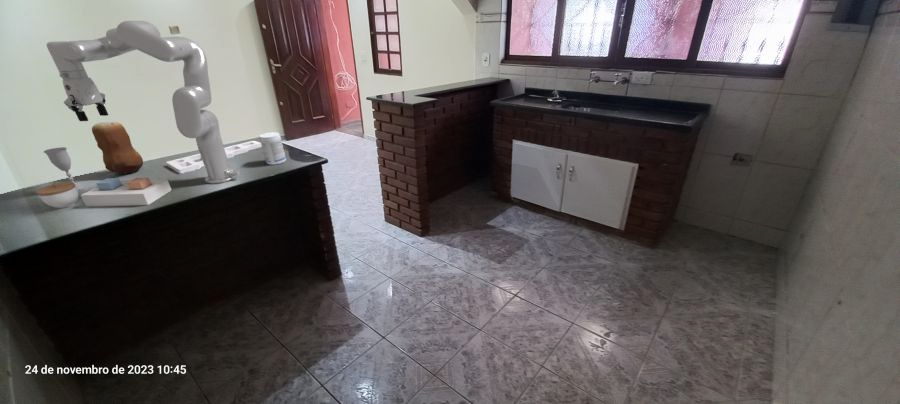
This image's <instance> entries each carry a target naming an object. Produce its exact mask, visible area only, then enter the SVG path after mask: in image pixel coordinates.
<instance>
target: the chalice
mask: <svg viewBox="0 0 900 404" xmlns="http://www.w3.org/2000/svg"><path fill="white" fill-rule="evenodd" d="M43 153H44V154H45V155H46V156H47V157H48V159H49V161H50V163H51V164H52V165H53V166H55V167H56V168H58V169H59V170H60V171H61V172H65V175H66V176H67V177H68V180H69V181H70V182H73V183H74V184H75V185H76V188H77V190H78V191H79V189H80V190H82V188H83V189H84V188H85V186H83V185H82V184H81V183H80V182H75V180H74V177H72V174H71V173H70V172H69V170H71V167H72V162H71V161H72V160H71V157H70V154H69V153H68V151H67V147H65V146H64V147H61V146H60V147H53V148H47V149H46V150H44V151H43Z"/></svg>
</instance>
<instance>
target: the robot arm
mask: <svg viewBox="0 0 900 404" xmlns="http://www.w3.org/2000/svg"><path fill="white" fill-rule="evenodd" d="M46 49H47V50H48V52H49V54H50V56H51V58H52V60H53V63H54V65H55V66H56V69H57V70H58V73H59V77H60V78H61V79H62V85H63V88H64V91H65V94H66V96H67V98H66V99H65V100H64V101H63V104H64V105H65V106H66V107H68V109H70V110H71V112H74V113H75V115H76V117H77V119H78V121H79V122H89V119H88V116H87V114H86V112H85V111H84V110H83V108H84V106H91V105H96V106H95V108H96V110H97V113H99V116H102V117H103V116H104V117H105V116H109V113H108V111H107V108H106V94H105V93H103V92H100V90H99V88H98V86H97V85H96V83H95V82H94V80H92V79H93V78H91V77H89V75H88V73H87V71H86V69H85V66H84V65H83V64H84V63H87V62H95V61H97V62H98V61H104V60H108V59H112V58H115V57H119V56H121V55H124V54H128V53H130V52H132V51H135V50H137V51H139V52H141V53H143V54H146V55H148V56H150V57H152V58H155V59H156V60H159V61H162V62H166V63H174V62H181V61H183V63H184V64H183V69H182V75H183V83H184V86H182V87H179V88H177V89H176V90H175V91H174V92H173V94H172V99H171V100H172V107H173V114H174V118H175V119H174V121H175V123H176V128H177V130H178V131H179V133H180V134H181V135H182V136H183V137H186V138H188V139H195V142H196V145H197V148H198V152H199V154H200V155H201V158H202V159H201V161H203V163H204V166H203V167H204V169H205V172H206V175H207V176H206V177H205V178H204V181H205V183H207V184H213V185H214V184H222V183H226V182H229V181H232V180H234V179H236V177H237V176H240V170H239V169H234V167H233V166H231V165H230V163H229V158H227V156H226V153H225V149H224V148H225V146H224V143H223V139H222V136H221V131H220V124H219V120H218V118H217V116H216V115H215V113H213V112H212V111H210V110H207V109H204V108H206V107H208V106H210V105H211V103H212V92H211V91H212V90H211V84H210V78H209V69H208V61H207V55H206V54H205V51H204V50H203V48H202V47H201V46H200V45H199V44H198V43H196V42H195V41H194V40H192V39H190V38H187V37H183V36H170V37H169V36H168V37H167V36H165V37H163V36H161V32H160V30H159V29H158V27H157V26H156V25H154V24H153V23H151V22H148V21H144V20H125V21H121V22H120V23H119V24H118V25H117V27H114V28H110V29H107V30H106V33H105V36H103V37H102V36H101V37H99V38H95V39H82V40H70V41H49V42H47V43H46Z"/></svg>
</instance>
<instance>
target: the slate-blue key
mask: <svg viewBox="0 0 900 404" xmlns="http://www.w3.org/2000/svg"><path fill="white" fill-rule="evenodd" d="M121 181H122V180H121V179H120V178H119V177H118V178H117V177H114V178H113V177H111V178H109V177H107V178H104V179H102V180H101V181H98V182H96V183H95V185H96V187H98V188H99V190H113V189H115V188H117V187H119V186H121V185H122V184H121Z"/></svg>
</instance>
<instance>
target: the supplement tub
mask: <svg viewBox="0 0 900 404" xmlns="http://www.w3.org/2000/svg"><path fill="white" fill-rule="evenodd" d="M259 141H260V143H261V145H262V147H261V149H262V152H263V155H264V158H265V159H264V160H265V163H266V164H267V165H271V166H272V165H273V166H274V165H281V164H283V163H285V162H286V161H287V156H286V153H285V150H284V145H283V141H282V138H281V134H280V133H279V132H276V131H274V132H273V131H271V132H265V133H262V134H260V135H259Z"/></svg>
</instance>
